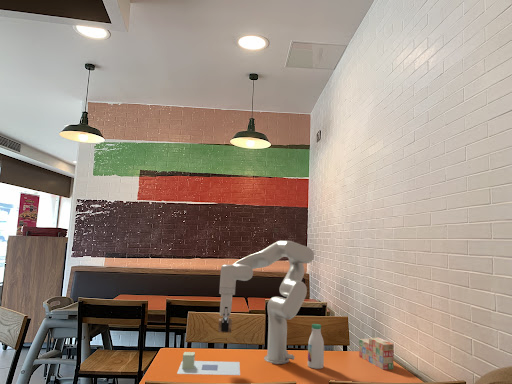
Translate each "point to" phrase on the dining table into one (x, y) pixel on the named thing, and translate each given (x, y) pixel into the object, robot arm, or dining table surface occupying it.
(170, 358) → the dining table surface
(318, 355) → the milk bottle
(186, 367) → the sage block
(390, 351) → the stack of blocks
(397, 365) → the dining table surface
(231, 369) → the board
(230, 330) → the walnut block
